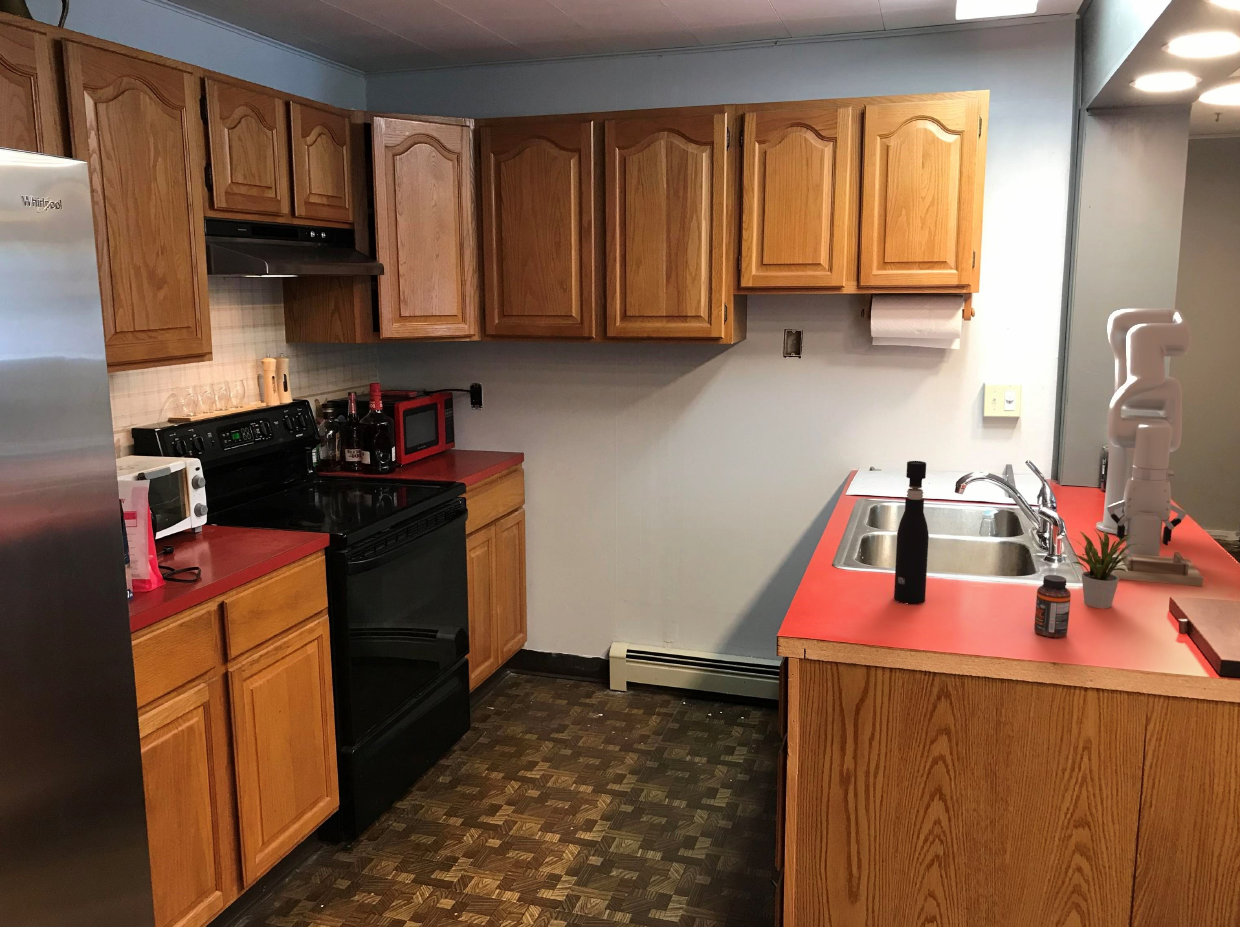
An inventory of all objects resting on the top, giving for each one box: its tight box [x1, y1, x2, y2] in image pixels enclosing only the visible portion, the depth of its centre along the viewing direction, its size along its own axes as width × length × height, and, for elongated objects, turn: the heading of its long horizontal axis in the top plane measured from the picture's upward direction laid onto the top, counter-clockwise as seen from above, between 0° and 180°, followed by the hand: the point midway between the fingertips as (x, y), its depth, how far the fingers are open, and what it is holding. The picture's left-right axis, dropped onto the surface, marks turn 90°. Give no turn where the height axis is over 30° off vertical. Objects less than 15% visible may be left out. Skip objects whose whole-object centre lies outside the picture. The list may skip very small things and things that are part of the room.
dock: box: [1108, 547, 1204, 587], centre depth 226 cm, size 16×18×4 cm
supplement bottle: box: [1033, 574, 1072, 639], centre depth 187 cm, size 6×6×11 cm
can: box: [1124, 512, 1164, 556], centre depth 239 cm, size 8×8×12 cm
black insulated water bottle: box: [893, 460, 929, 605], centre depth 205 cm, size 6×6×30 cm
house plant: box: [1070, 527, 1142, 609], centre depth 203 cm, size 14×14×16 cm
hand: (1142, 542), depth 239 cm, fingers open, 9 cm apart
